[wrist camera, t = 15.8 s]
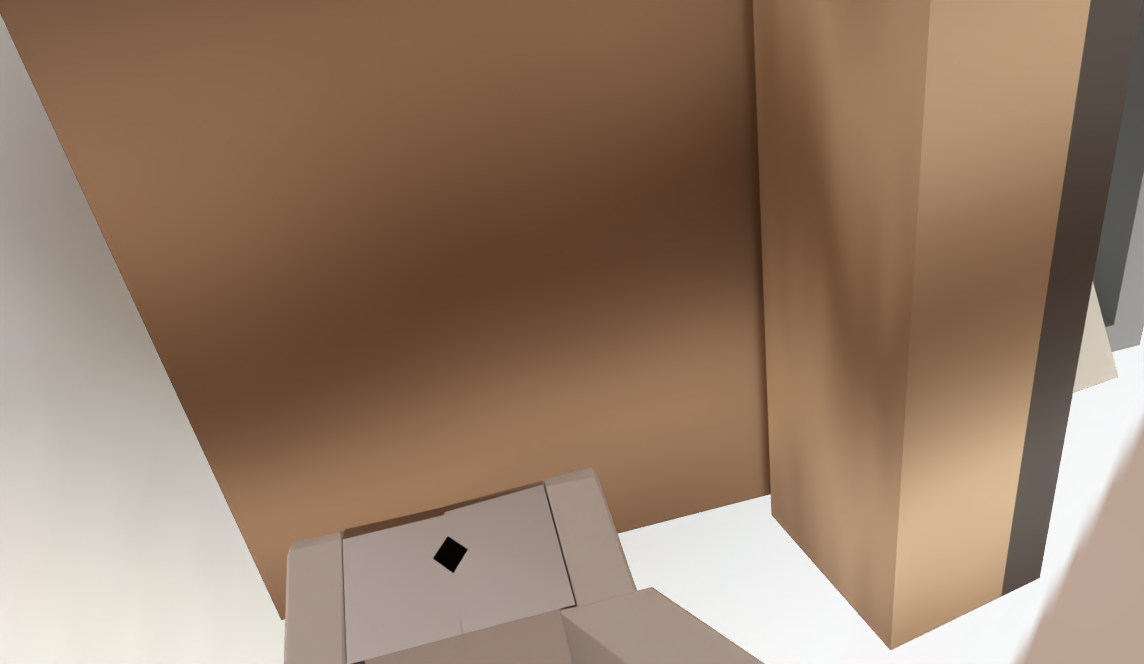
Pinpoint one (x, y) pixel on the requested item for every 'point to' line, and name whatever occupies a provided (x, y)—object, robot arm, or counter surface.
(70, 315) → the counter surface
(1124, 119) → the tray
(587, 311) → the board
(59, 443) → the counter surface
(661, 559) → the counter surface
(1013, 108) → the tan wooden bar
